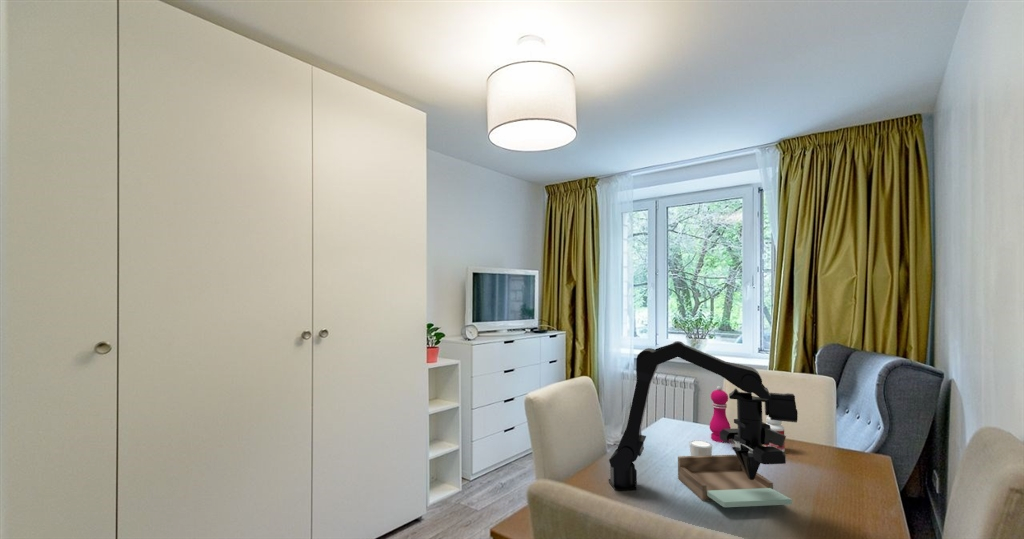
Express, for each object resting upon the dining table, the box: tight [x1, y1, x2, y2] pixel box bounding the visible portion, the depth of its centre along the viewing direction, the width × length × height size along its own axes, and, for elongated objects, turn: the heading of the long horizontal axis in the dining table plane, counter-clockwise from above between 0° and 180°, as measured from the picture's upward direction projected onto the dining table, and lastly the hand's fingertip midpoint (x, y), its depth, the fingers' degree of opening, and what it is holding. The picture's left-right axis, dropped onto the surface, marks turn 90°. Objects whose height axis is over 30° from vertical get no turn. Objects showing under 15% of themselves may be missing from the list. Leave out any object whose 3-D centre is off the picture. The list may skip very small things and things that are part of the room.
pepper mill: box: [709, 385, 732, 443], centre depth 167 cm, size 7×7×20 cm
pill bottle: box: [763, 416, 786, 453], centre depth 156 cm, size 6×6×11 cm
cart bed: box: [677, 454, 774, 502], centre depth 126 cm, size 20×14×6 cm
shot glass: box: [689, 439, 713, 456], centre depth 142 cm, size 7×7×7 cm
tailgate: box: [707, 488, 793, 508], centre depth 114 cm, size 18×1×8 cm
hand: (751, 479), depth 113 cm, fingers closed
